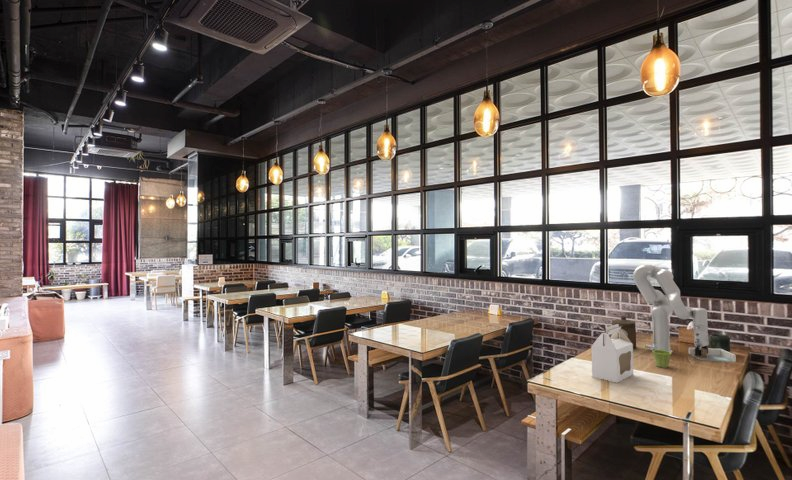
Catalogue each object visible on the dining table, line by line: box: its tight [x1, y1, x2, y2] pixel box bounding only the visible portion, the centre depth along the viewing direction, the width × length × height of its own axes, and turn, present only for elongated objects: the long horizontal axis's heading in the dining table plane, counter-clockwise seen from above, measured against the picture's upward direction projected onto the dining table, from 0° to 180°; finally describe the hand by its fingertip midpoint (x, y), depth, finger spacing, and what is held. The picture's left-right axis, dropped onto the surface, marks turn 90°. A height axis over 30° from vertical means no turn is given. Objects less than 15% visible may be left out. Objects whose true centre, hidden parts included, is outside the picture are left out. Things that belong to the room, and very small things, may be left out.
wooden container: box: [611, 315, 637, 350], centre depth 289 cm, size 15×15×22 cm
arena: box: [688, 347, 737, 363], centre depth 256 cm, size 19×15×5 cm
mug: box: [708, 333, 732, 353], centre depth 270 cm, size 11×15×12 cm
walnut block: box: [693, 347, 707, 358], centre depth 258 cm, size 5×5×5 cm
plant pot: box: [652, 350, 672, 369], centre depth 242 cm, size 9×9×9 cm
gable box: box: [591, 324, 634, 384], centre depth 226 cm, size 22×13×28 cm, turn 129°
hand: (701, 354), depth 258 cm, fingers open, 9 cm apart
